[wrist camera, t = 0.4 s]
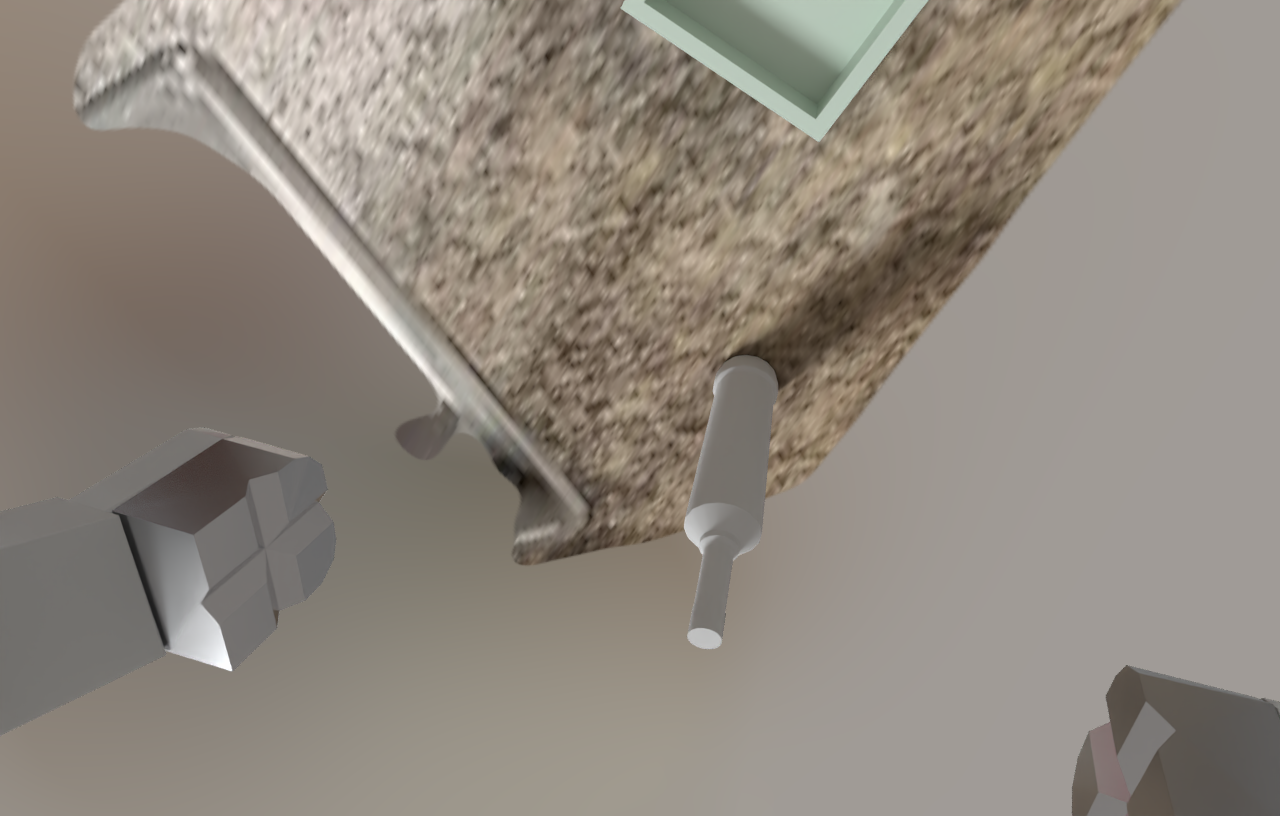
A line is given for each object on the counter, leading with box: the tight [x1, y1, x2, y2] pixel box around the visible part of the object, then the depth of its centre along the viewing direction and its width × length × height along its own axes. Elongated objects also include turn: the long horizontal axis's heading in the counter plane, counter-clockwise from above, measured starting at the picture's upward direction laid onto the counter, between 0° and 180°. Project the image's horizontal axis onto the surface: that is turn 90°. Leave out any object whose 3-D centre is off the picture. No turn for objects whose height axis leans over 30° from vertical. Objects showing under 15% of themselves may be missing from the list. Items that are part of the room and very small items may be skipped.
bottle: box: [684, 355, 778, 649], centre depth 57 cm, size 5×5×25 cm
